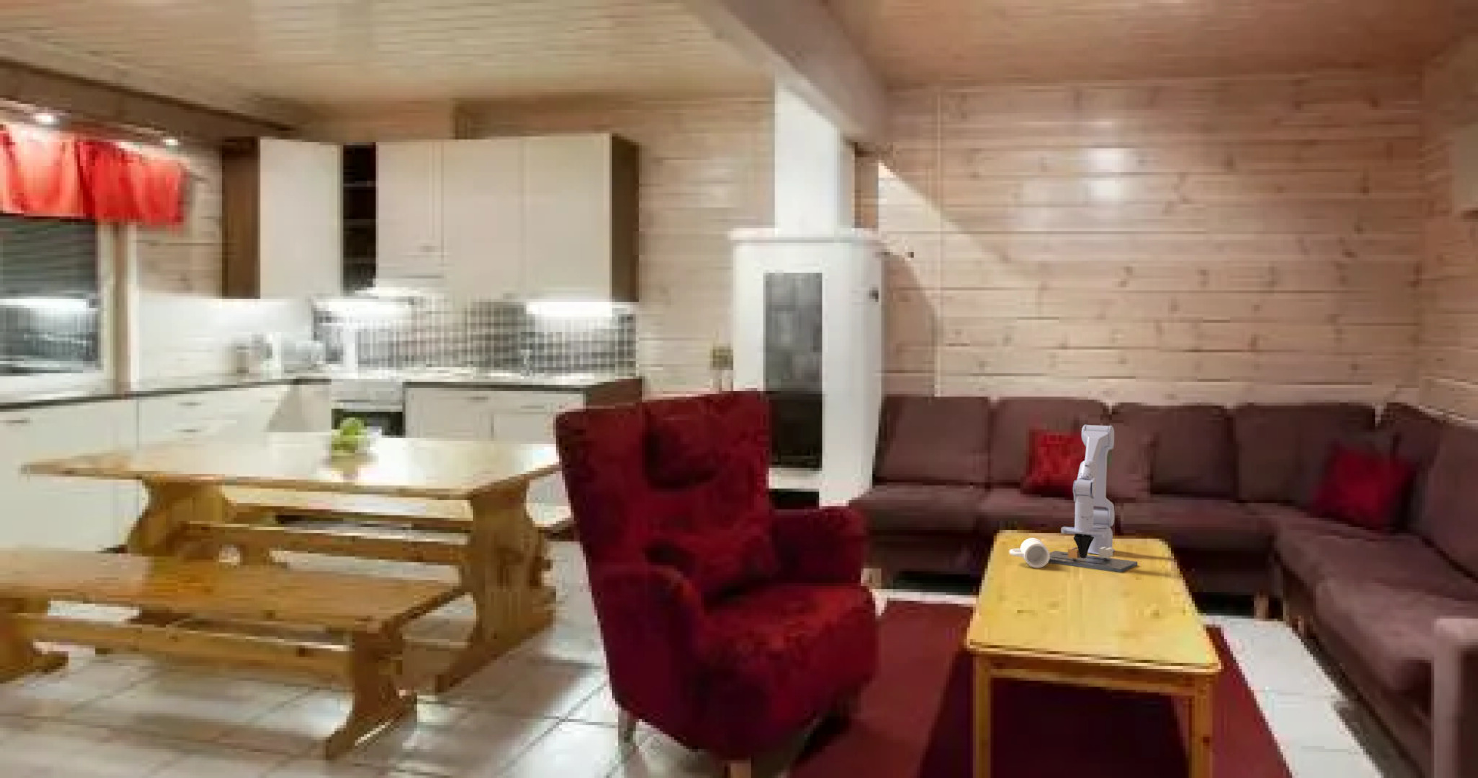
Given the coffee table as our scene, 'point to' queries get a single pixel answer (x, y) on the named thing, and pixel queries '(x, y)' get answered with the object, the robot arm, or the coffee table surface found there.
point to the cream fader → (1105, 552)
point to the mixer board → (1092, 562)
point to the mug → (1032, 552)
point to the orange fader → (1073, 553)
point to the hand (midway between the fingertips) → (1083, 557)
